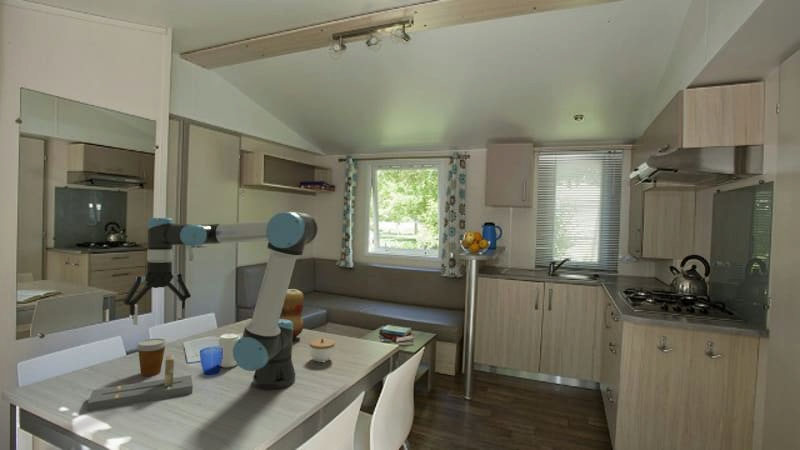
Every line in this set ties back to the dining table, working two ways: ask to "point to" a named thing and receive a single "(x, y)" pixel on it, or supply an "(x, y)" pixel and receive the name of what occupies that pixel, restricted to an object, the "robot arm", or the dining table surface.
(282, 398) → the dining table surface
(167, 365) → the beige tall block
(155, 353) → the disposable coffee cup
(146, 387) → the fader console
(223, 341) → the white lidded canister
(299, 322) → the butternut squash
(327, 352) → the lidded jar
